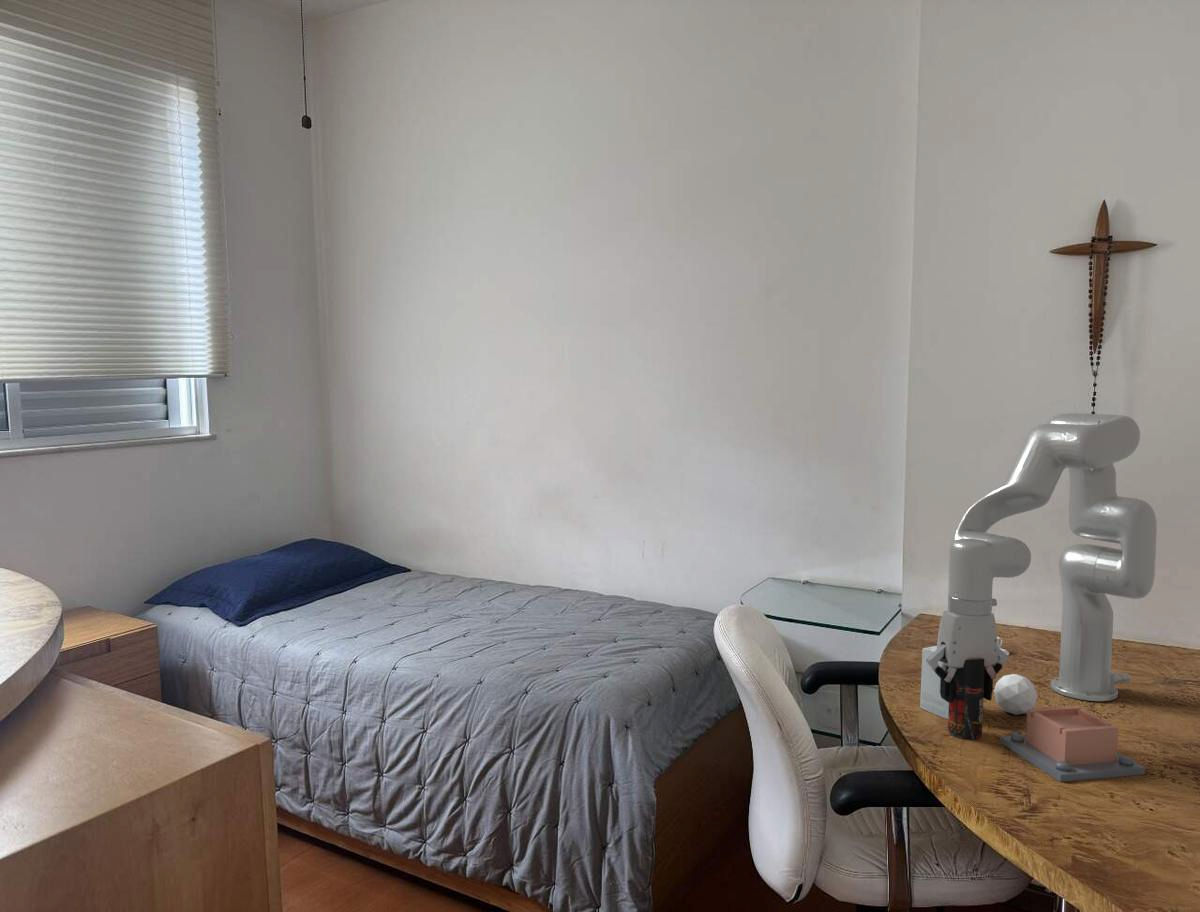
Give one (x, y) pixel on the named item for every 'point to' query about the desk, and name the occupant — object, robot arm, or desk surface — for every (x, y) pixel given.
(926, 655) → the supplement box
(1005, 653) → the teacup and saucer
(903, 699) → the desk surface
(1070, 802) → the desk surface
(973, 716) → the deodorant
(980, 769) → the desk surface
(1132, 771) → the tower base
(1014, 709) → the geometric ball
